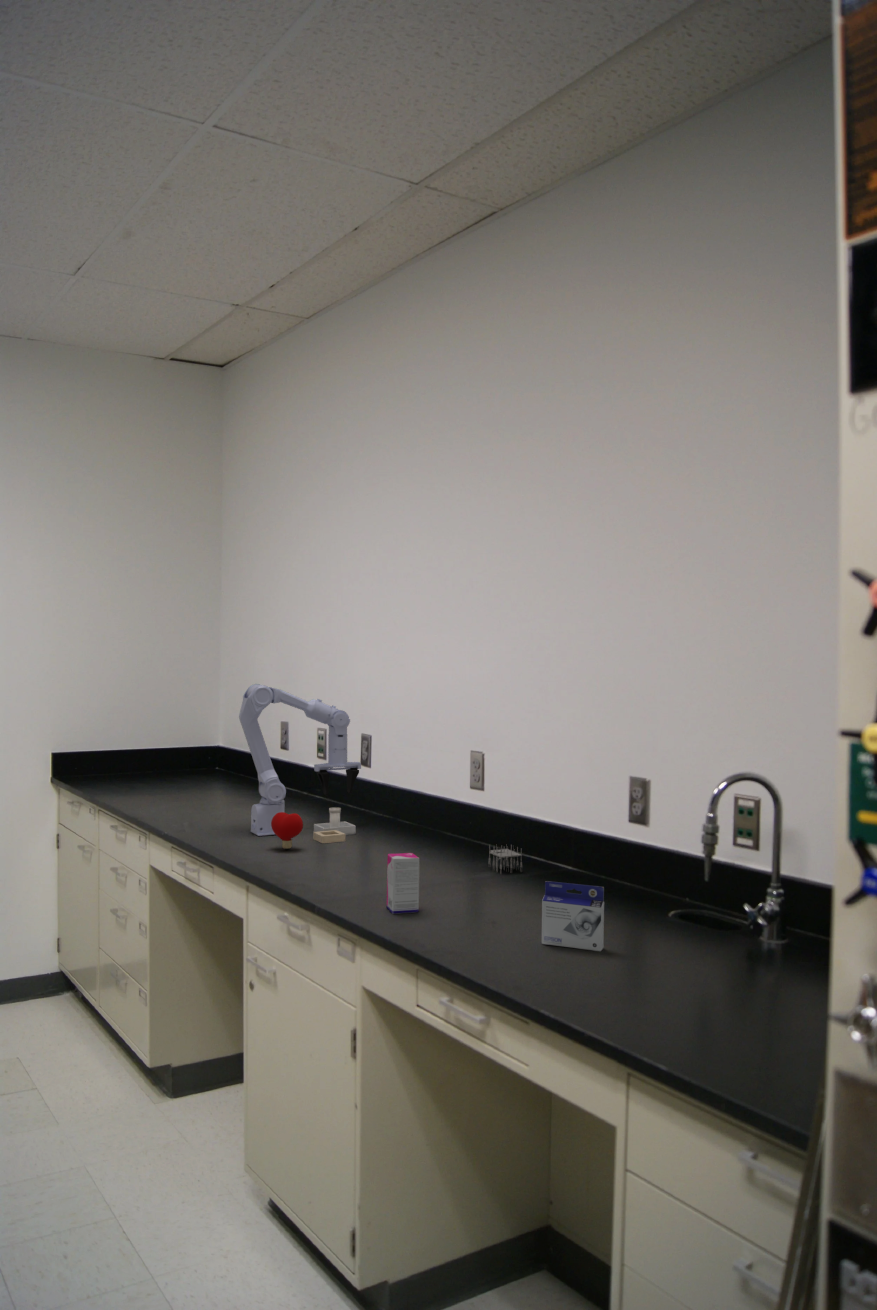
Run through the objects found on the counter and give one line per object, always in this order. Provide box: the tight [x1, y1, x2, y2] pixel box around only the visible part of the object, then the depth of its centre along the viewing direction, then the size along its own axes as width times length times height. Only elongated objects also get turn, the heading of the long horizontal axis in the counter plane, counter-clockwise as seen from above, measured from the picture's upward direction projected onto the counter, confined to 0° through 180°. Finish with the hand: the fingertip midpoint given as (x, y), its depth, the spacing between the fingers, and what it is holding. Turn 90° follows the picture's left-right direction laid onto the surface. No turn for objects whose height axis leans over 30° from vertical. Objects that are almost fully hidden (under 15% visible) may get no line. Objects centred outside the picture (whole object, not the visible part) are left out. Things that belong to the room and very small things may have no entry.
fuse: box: [328, 806, 342, 828], centre depth 286 cm, size 3×3×7 cm
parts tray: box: [313, 821, 357, 836], centre depth 286 cm, size 10×8×2 cm
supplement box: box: [386, 852, 420, 915], centre depth 204 cm, size 6×6×12 cm
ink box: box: [541, 880, 605, 952], centre depth 179 cm, size 12×2×12 cm, turn 69°
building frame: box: [487, 844, 523, 875], centre depth 241 cm, size 6×8×6 cm
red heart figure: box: [271, 811, 304, 851], centre depth 263 cm, size 9×7×10 cm
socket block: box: [312, 830, 346, 844], centre depth 277 cm, size 7×7×2 cm
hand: (337, 793), depth 295 cm, fingers open, 7 cm apart
